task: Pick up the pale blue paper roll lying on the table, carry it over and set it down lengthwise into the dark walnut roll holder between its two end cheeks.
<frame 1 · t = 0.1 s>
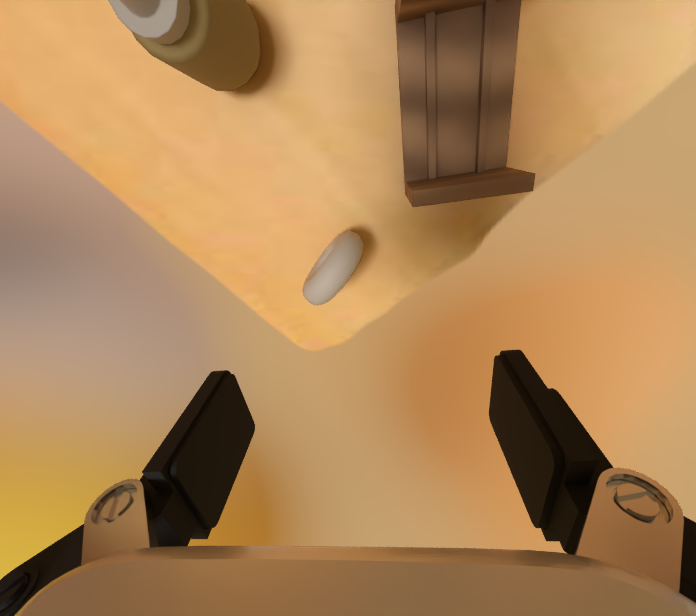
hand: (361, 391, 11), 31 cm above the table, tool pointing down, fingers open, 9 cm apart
donut: (336, 253, 42), on the table
cradle: (453, 101, 32), on the table
squeeze bottle: (233, 48, 32), on the table
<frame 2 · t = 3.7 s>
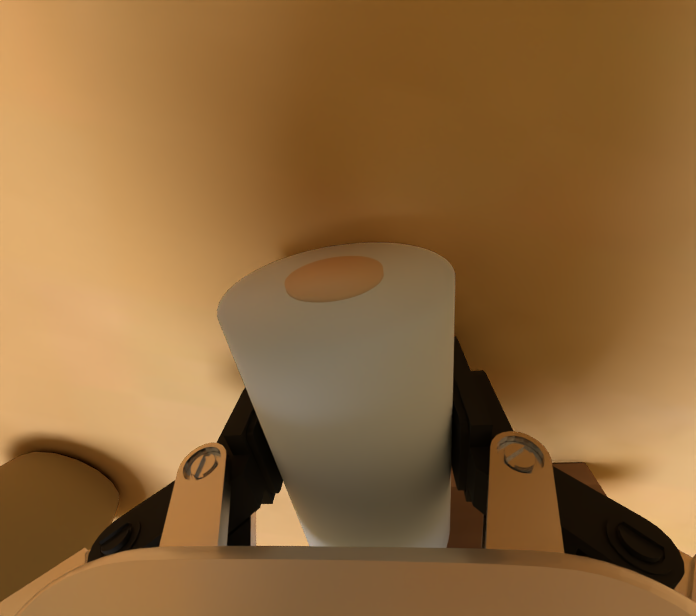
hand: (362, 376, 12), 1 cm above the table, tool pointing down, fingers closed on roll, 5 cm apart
cradle: (457, 552, 19), on the table
squeeze bottle: (74, 477, 18), on the table
roll: (360, 421, 10), point 3 cm above the table, touching gripper
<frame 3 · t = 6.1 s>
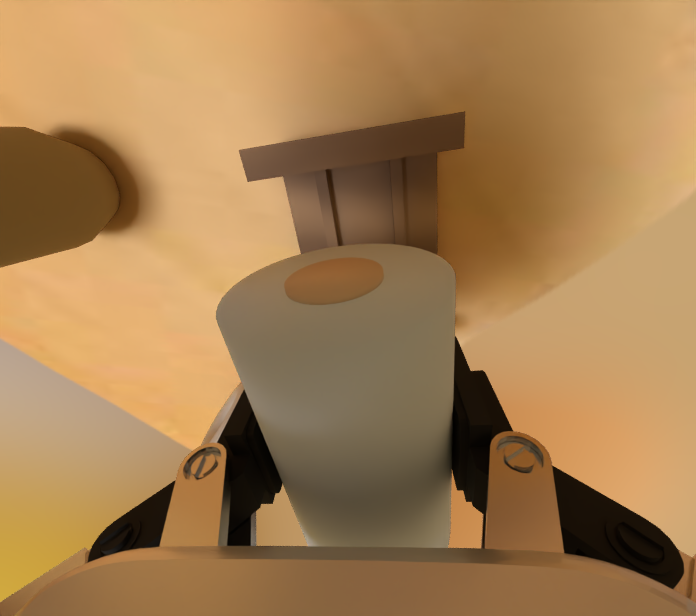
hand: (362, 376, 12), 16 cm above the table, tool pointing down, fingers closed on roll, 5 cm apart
donut: (252, 387, 35), on the table
cradle: (367, 246, 26), on the table
squeeze bottle: (86, 184, 25), on the table
roll: (360, 423, 10), point 18 cm above the table, touching gripper
when the fingers open (4 cm above the table, at t = 8.8 s): roll drops 2 cm, resting on cradle.
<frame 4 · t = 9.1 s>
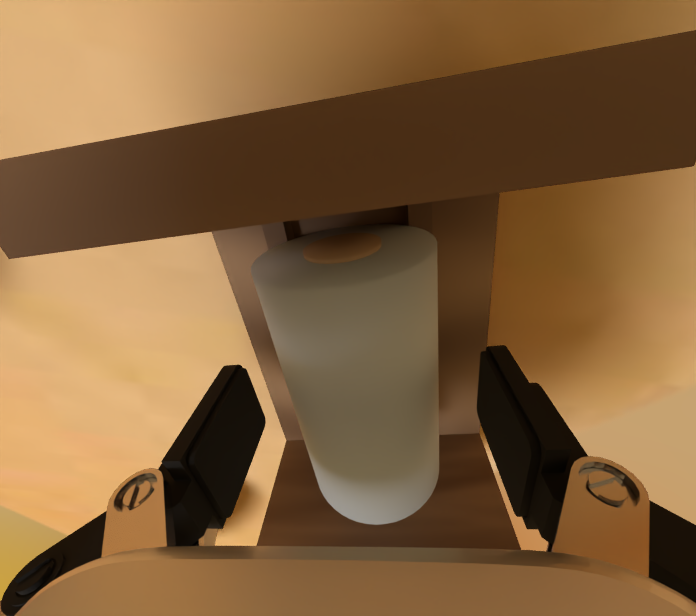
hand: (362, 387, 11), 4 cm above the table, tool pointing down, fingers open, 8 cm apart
cradle: (364, 324, 15), on the table
roll: (362, 374, 12), point 4 cm above the table, touching cradle
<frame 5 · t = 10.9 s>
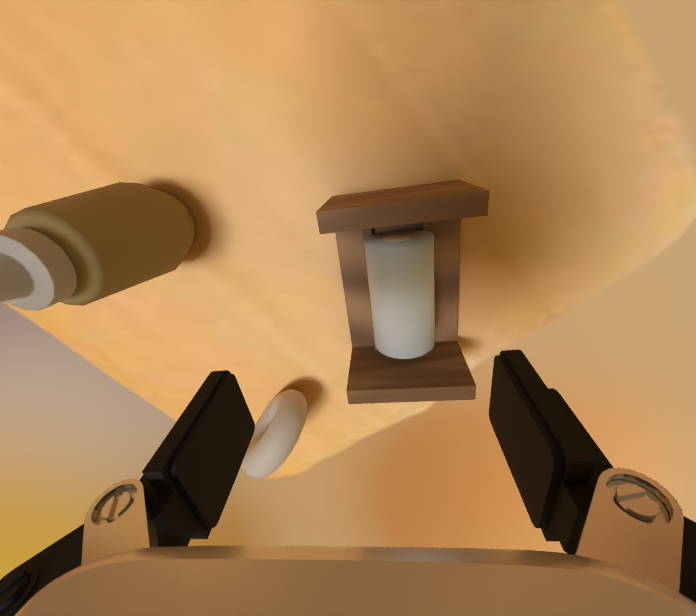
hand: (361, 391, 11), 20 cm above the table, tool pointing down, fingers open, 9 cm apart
donut: (287, 398, 39), on the table
cradle: (399, 279, 31), on the table
squeeze bottle: (168, 222, 30), on the table
roll: (401, 293, 27), point 4 cm above the table, touching cradle
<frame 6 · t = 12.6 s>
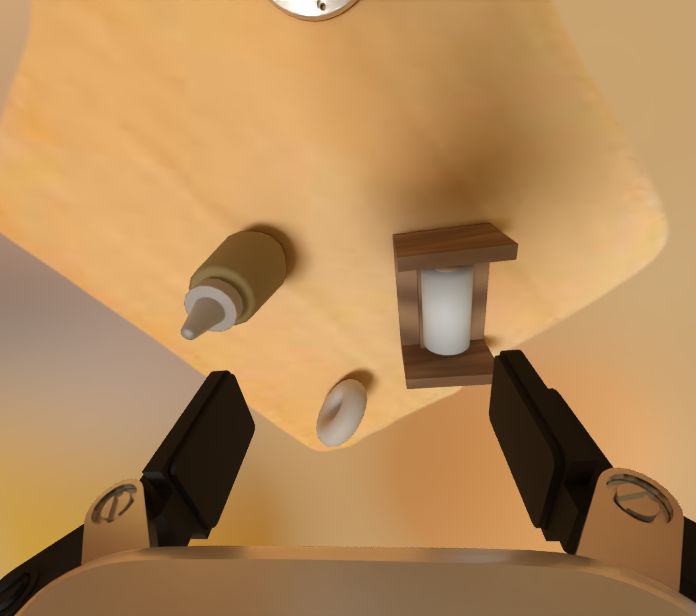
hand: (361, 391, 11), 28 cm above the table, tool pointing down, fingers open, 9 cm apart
donut: (344, 386, 49), on the table
cradle: (440, 293, 40), on the table
squeeze bottle: (262, 254, 39), on the table
roll: (446, 307, 37), point 4 cm above the table, touching cradle
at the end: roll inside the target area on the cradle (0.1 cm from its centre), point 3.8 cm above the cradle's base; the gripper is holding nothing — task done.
